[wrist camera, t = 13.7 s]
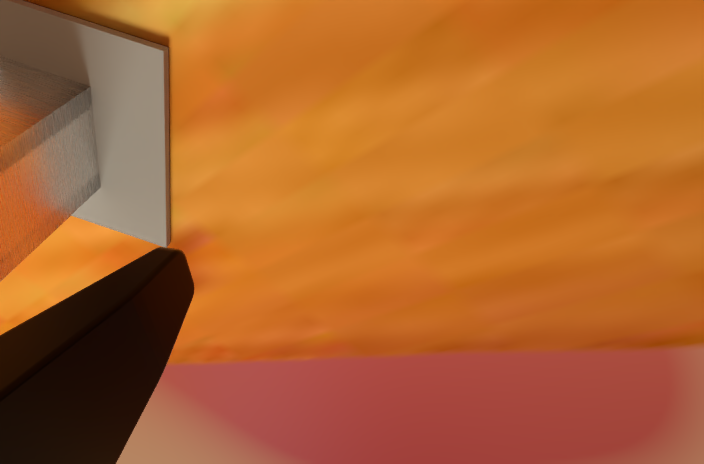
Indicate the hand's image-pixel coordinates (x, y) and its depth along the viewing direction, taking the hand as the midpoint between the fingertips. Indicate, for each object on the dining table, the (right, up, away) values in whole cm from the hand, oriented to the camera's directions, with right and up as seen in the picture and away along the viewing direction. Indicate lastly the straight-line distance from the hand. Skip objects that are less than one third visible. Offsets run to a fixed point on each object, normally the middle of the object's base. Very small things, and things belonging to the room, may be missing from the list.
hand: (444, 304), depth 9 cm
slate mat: (-15, +6, +17) cm, 24 cm away
